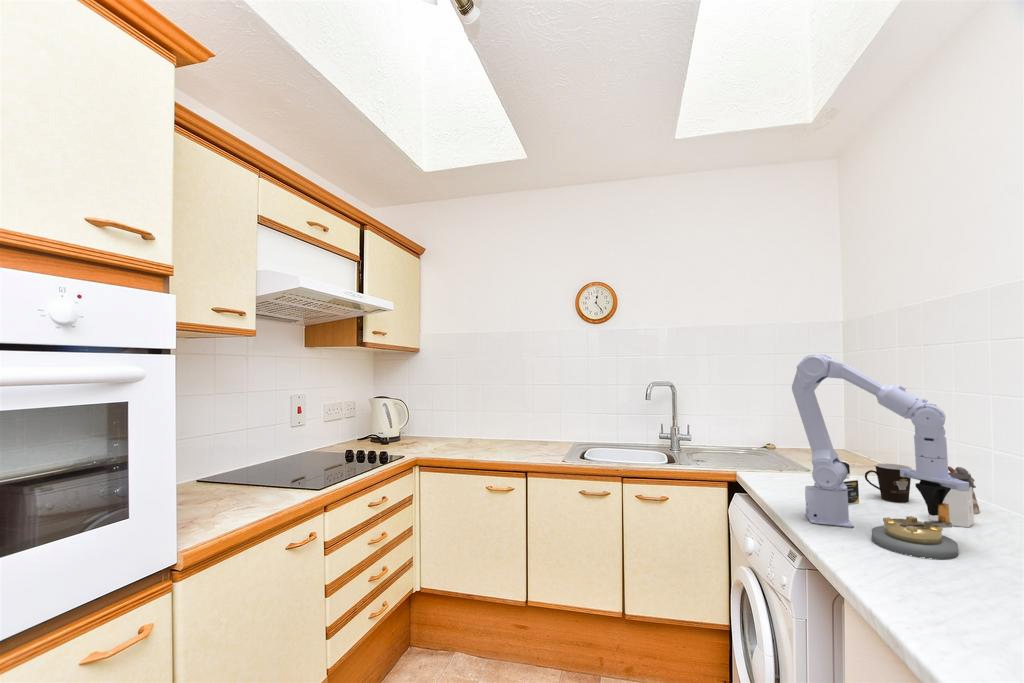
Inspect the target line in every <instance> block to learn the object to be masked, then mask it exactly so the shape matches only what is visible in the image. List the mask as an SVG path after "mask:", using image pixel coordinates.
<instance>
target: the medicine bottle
mask: <svg viewBox="0 0 1024 683" xmlns="http://www.w3.org/2000/svg"><path fill="white" fill-rule="evenodd" d="M840 461H841V462H842V463H843V464H844V465H845V467H846V468H847V472H848V474H847V477H846V479H845V480H844V481H843V482H844V484H845V485H846V486H847V493H848V505H853V504H859V503H860V494H859V493H860V492H859V490H860V489H859V480H858V478H855V477H851V467H850V466H851V465H850V463H849V462H847V461H845V460H840Z"/></svg>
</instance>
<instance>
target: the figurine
mask: <svg viewBox="0 0 1024 683" xmlns="http://www.w3.org/2000/svg"><path fill="white" fill-rule="evenodd" d="M948 472H949V473H956V474H961V475H965V476H968V477H969V478H970V481H971V485H970V487H972V497H973V512H974V515H977V514H981V511H980V507H979V506H980V505H979V503H978V500H977V498H976V497H977V496H976V494H975V490H974V489H976V488H977V487H976V486H977V485H975V483H974V482H975V479H974V478H973V477H972V475H971V473H970V472H969V471H968V470H967V469H966V468H964V467H962V466H957V467H955V469H954V468H953V467H951V466H950V465H948ZM976 513H977V514H976Z"/></svg>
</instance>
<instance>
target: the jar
mask: <svg viewBox="0 0 1024 683" xmlns="http://www.w3.org/2000/svg"><path fill="white" fill-rule="evenodd" d="M948 474H949V475H951V477H953V478H956V479H959V480H961V481H965V482H969V490H970V491H964V492H961V491H958V490H957V489H953V488H951V490H950V491H949V492H948V494H947V495H946V497H945V499H944V501H943V503H945V504H948V505H949V517H950V522H951V523H952V527H959V528H960V527H961V528H970V527H972V526H973V525H974V524H975V516H974V515H975V514H974V512H973V497H972V487H970V485H971V481H970V478H969V477H968V476H965V475H961V474H956V473H950V472H948ZM928 519H929V521H938V515H935V516H932V515H929V514H928Z"/></svg>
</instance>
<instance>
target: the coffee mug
mask: <svg viewBox="0 0 1024 683" xmlns="http://www.w3.org/2000/svg"><path fill="white" fill-rule="evenodd" d="M874 465H875V466H874V467H875V470H873V469H871V470H867V471H866V472H865V473H864V479H865V481H866V482H867V483H868V484H869V485H871V486H872V487H874V488H876V489H877V490H879V491H880V497H881V498H880V499H881V500H884V501H886V502H890V503H895V504H896V503H897V504H898V503H899V504H907V503H909V502H910V491H911V479H912V478H908V477H901V476H900V469H904V468H907V469H912V470H913V468H912V467H910V466H908V465H903V464H895V463H875V464H874ZM870 473H874V474H876V476H877V482H878V486H877V485H876V484H874V483H872V482H871V480H869V478H868V475H869V474H870Z"/></svg>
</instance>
